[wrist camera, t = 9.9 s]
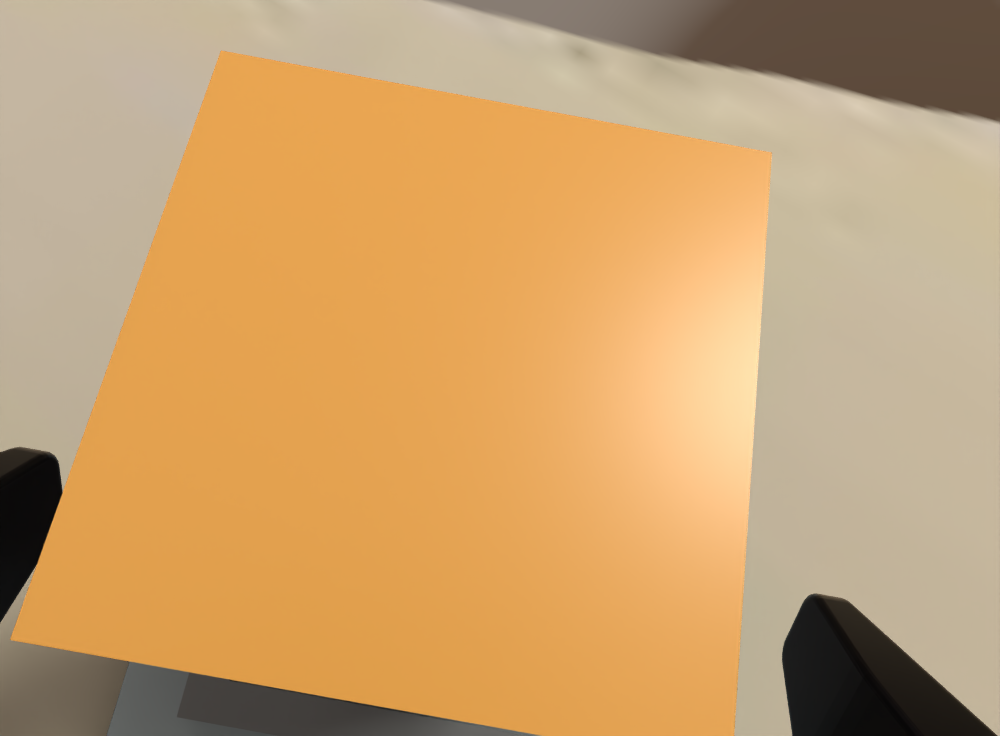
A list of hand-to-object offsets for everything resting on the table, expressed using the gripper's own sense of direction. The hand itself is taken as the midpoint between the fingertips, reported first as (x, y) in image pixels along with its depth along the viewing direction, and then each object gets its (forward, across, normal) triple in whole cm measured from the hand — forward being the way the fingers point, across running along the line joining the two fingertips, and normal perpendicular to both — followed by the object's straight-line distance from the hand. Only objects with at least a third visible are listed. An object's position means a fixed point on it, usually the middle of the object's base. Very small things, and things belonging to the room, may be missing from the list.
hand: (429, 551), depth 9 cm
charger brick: (+6, 0, +5) cm, 8 cm away
